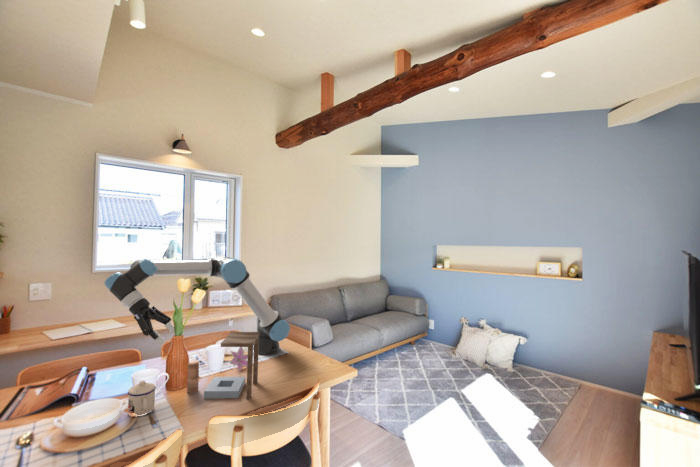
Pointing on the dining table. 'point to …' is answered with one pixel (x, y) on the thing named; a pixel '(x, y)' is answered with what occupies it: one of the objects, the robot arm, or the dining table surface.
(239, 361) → the lily
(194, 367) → the peg
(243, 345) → the brown frame
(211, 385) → the socket
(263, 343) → the robot arm
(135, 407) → the teacup with lid
